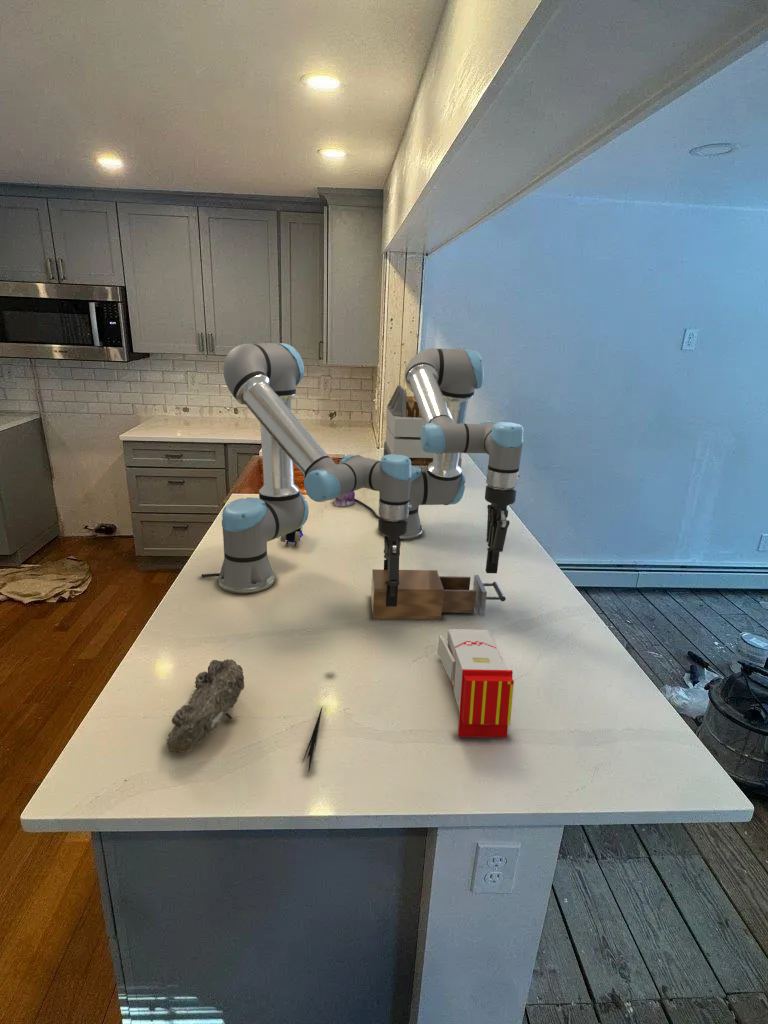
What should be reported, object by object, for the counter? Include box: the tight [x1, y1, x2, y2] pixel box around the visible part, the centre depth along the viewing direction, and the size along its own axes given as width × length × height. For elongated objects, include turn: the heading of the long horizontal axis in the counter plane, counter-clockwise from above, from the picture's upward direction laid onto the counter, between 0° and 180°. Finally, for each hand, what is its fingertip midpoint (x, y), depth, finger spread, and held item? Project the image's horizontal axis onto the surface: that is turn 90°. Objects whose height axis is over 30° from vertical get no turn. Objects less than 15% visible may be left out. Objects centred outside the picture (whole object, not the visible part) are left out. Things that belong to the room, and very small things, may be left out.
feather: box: [301, 673, 332, 771], centre depth 108 cm, size 2×28×2 cm
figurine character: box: [280, 526, 304, 547], centre depth 189 cm, size 7×8×15 cm
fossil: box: [166, 658, 245, 754], centre depth 106 cm, size 22×10×15 cm
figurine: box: [333, 491, 356, 507], centre depth 225 cm, size 9×10×15 cm
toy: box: [437, 628, 515, 738], centre depth 117 cm, size 12×13×30 cm
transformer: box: [383, 384, 463, 469], centre depth 268 cm, size 34×33×41 cm
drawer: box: [439, 574, 506, 616], centre depth 150 cm, size 22×10×7 cm, turn 93°
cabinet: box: [370, 568, 444, 620], centre depth 149 cm, size 18×11×8 cm, turn 93°
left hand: (389, 593), depth 149 cm, fingers open, 12 cm apart
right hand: (491, 572), depth 148 cm, fingers closed
